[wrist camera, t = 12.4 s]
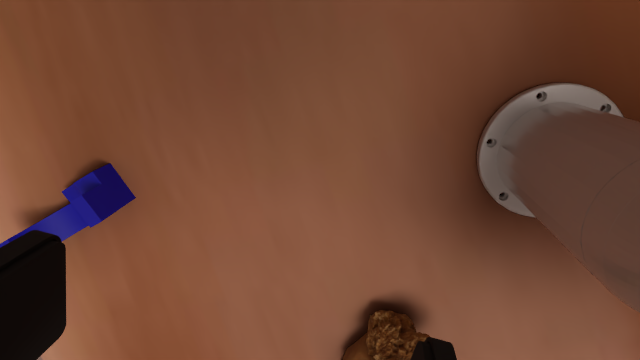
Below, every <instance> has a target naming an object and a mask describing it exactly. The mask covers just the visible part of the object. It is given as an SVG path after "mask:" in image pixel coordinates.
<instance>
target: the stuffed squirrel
mask: <svg viewBox="0 0 640 360" xmlns="http://www.w3.org/2000/svg"><path fill="white" fill-rule="evenodd" d="M427 337H430V336H429V335H427V334H422V333H420V332H418V333H417V332H416V329H415V327H414V324H413V323H412V320H411V319H410V318H409V317H408V316H407V315H405V314H397V313H395V312H393V311H389V310H388V311H384V310H379V311H376V312H375V313H374V314H372V315H370V319H369V322H368V330H367V333H366V334H365V335H364V336H362V337H361V338H360V339H359V340H358V341H356V342H355V343H354V344H353V345H351V346H350V347H348V348H347V350H346V352H345V354H344V357H343V360H410V359H411V356H412V354H413V352H414V349H415V347H416V344H417V343H418V341H423V342H425V340H426V338H427Z"/></svg>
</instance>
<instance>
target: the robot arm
mask: <svg viewBox="0 0 640 360" xmlns="http://www.w3.org/2000/svg"><path fill="white" fill-rule="evenodd" d="M538 93H540V96H539V97H538V98H536V95H537V94H538ZM601 106H602V108H601ZM600 108H601V109H600ZM489 139H491V142H490V143H487V141H488V140H489ZM477 168H478V172H479V177H480V179H481V181H482V183H483V185H484V187H485V189H486V190H487V191H488V193H489V194H490V195H491V196H492V197H493V198H494V200H495V201H496V202H497V203H499V204H500V205H502V206H503V207H505V208H506V209H508V210H509V211H512V212H514V213H517V214H519V215H524V216H528V217H536V218H537V219H538V220H539V221H540V222H541V223H542V224H543V225H544V226H545V227H546V228H547V229H548V230H549V231H550V232H551V233H552V234H553V235H554V236H555V237H556V238H557V239H558V240H559V241H560V242H561V243H562V244H563V245H564V246H565V247H566V248H567V249H568V250H569V251H570V252H571V253H572V254H573V255H574V256H575V257H576V258H577V259H578V260H579V261H580V262H581V263H582V264H583V265H584V266H585V267H586V268H587V269H588V270H589V271H590V272H591V273H592V274H593V275H594V276H595V277H596V278H597V279H598V280H599V281H600V282H601V283H602V284H603V285H604V286H605V287H606V288H607V289H608V290H609V291H610V292H611V293H613V294H614V295H615V296H616V297H617V298H619V299H620V300H621V301H622V302H624V303H625V304H627V305H628V306H629V307H631V308H633V309H634V310H636V311H638V312H640V122H638V121H635V120H631V119H628V118H624V117H623V115H622V113H621V112H620V110H619V109H618V107H617V106H616V104H615V103H614V102H613V101H611V100H610V99H609V98H608V97H607V96H606V95H604V94H603V93H601V92H599V91H597V90H595V89H593V88H590V87H586V86H583V85H579V84H573V83H550V84H544V85H539V86H536V87H534V88H531V89H528V90H525V91H523V92H522V93H520V94H518V95H516V96H515V97H513V98H511V99H510V100H509V101H508V102H506V103H505V104H504V105H503V106H501V107H500V108H499V110H498V111H497V112H496V113H495V114H494V115H493V116H492V117H491V119H490V120H489V122H488V124H487V125H486V127H485V129H484V130H483V133H482V135H481V138H480V141H479V145H478V150H477ZM502 192H503V194H502V195H500V194H501V193H502ZM65 326H66V249H65V245H64V244H63V243H62V242H61V239H60V237H59V236H57V235H54V234H50V233H46V232H43V231H39V230H32V231H29V232H27V233H26V234H24V235H22V236H20V237H18V238H17V239H15V240H13V241H11V242H9V243H8V244H6V245H4V246H2V247H0V360H37V359H38V358H39V357H40V356H41V355H42V354H43V353H44V352H45V351H46V350H47V349H48V348H49V347H50V346H51V345H52V344H53V343H54V342H55V341H56V340H57V339H58V338H59V337H60V336H61V335H62V333H63V331H64V329H65ZM410 360H457V358H456V355H455V351H454V348H453V345H452V344H451V343H450V342H446V341H443V340H439V339H435V338H432V337H427V338H426V340H425V342H423V341H418V343H417V344H416V347H415V349H414V352H413V354H412V356H411V359H410Z"/></svg>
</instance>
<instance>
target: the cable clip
mask: <svg viewBox="0 0 640 360" xmlns="http://www.w3.org/2000/svg"><path fill="white" fill-rule="evenodd" d="M62 193H63V194H64V195H65V197H66V198H67V199H68V200H69V202H70V204H69V205H67V206H65V207H63V208H62V209H60V210H58V211H57V212H55V213H53V214H52V215H50V216H48V217H46V218H45V219H43V220H41V221H39V222H38V223H36V224H34V225H32V226H31V227H29V228H27V229H25V230H24V231H22V232H20V233H18V234H17V235H15V236H13V237H11V238H9V239H8V240H6V241H4V242H3V243H1V244H0V247H2V246H4V245H6V244H8V243H9V242H11V241H13V240H15V239H17V238H18V237H20V236H22V235H24V234H26V233H27V232H29V231H32V230H39V231H43V232H46V233H50V234H54V235H57V236H59V237H60V239H61V242H62V241H63V240H65V239H67V238H68V237H70V236H71V235H73V234H75V233H76V232H78V231H80V230H82V229H83V228H85V227H87V226H88V225H89V226H90V227H92V226H94V225H96V224H98V223H100V222H101V221H103V220H104V219H106V218H107V217H109V216H110V215H112V214H113V213H114V212H116V211H117V210H119V209H120V208H122V207H123V206H125V205H126V204H128V203H129V202H130V201H132V200H133V199H135V198H136V197H135V196H134V195H133V193H132V192H131V191H130V189H129V188H128V187H127V185H126V184H125V183H124V181H123V180H122V179H121V177H120V176H119V174H118V173H117V172H116V170H115V169H114V168H113V166H112V165H111V164H110V163H109V164H107V165H105V166H103V167H101V168H99V169H97V170H95V171H93V172H91V173H89V174H88V175H86V176H84V177H83V178H81V179H80V180H78V181H76V182H75V183H74V184H73V185H71V186H70V187H68V188H67V189H65V190H64V191H62Z"/></svg>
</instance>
